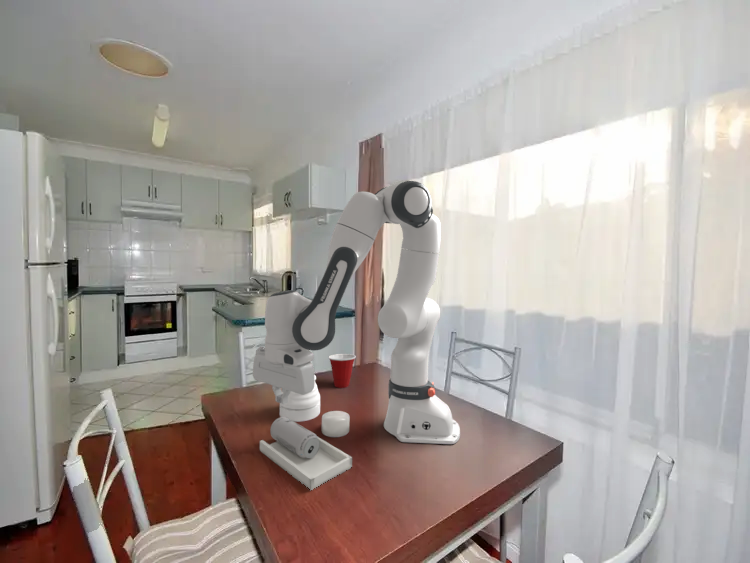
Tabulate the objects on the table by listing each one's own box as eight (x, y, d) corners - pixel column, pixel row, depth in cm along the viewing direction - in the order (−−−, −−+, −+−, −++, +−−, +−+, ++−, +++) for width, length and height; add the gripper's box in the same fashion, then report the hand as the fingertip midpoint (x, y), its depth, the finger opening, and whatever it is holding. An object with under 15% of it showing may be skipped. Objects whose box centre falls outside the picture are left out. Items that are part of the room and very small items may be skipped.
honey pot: (297, 425, 102) (298, 366, 101) (271, 413, 110) (271, 358, 109) (328, 411, 113) (329, 357, 112) (302, 401, 120) (302, 350, 119)
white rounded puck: (352, 425, 103) (352, 412, 103) (344, 438, 95) (344, 424, 95) (327, 422, 105) (327, 409, 105) (317, 434, 97) (317, 421, 97)
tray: (259, 450, 89) (259, 441, 89) (298, 434, 97) (299, 425, 97) (311, 490, 74) (311, 479, 74) (352, 467, 82) (352, 457, 82)
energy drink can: (291, 422, 97) (325, 442, 87) (277, 442, 94) (311, 465, 84) (279, 411, 94) (313, 430, 84) (264, 431, 91) (297, 454, 81)
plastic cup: (350, 379, 144) (350, 350, 143) (359, 388, 134) (359, 357, 133) (324, 382, 139) (325, 353, 139) (332, 391, 129) (332, 360, 129)
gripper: (246, 347, 94) (246, 397, 95) (301, 360, 83) (300, 416, 84) (265, 343, 99) (265, 390, 100) (318, 355, 88) (317, 407, 89)
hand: (281, 402), depth 92 cm, fingers closed
